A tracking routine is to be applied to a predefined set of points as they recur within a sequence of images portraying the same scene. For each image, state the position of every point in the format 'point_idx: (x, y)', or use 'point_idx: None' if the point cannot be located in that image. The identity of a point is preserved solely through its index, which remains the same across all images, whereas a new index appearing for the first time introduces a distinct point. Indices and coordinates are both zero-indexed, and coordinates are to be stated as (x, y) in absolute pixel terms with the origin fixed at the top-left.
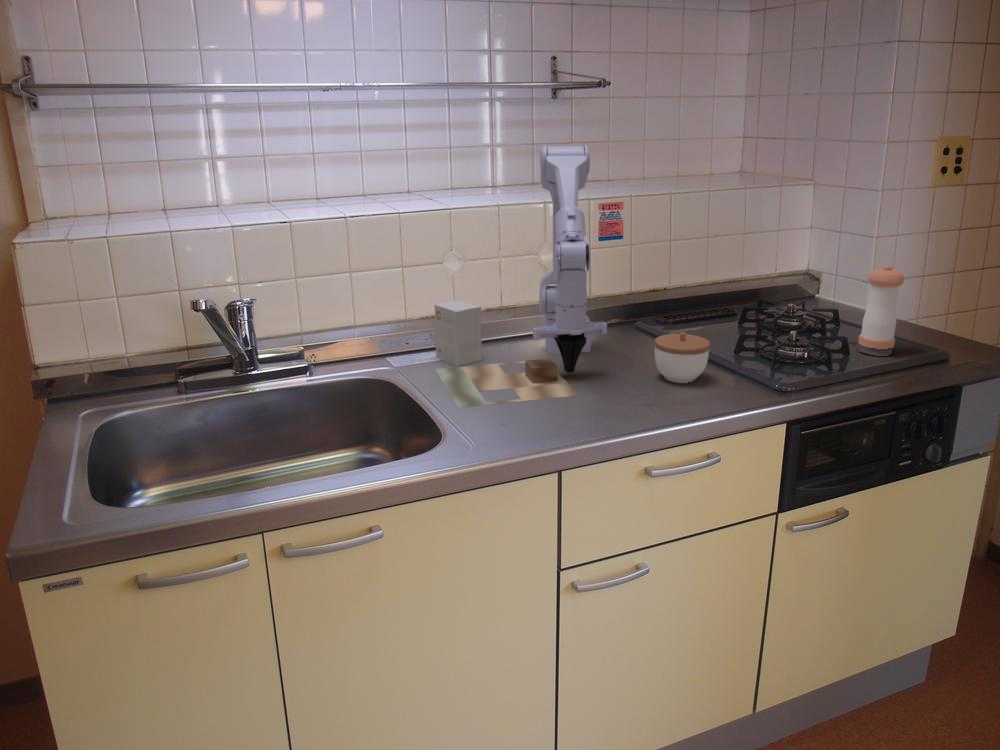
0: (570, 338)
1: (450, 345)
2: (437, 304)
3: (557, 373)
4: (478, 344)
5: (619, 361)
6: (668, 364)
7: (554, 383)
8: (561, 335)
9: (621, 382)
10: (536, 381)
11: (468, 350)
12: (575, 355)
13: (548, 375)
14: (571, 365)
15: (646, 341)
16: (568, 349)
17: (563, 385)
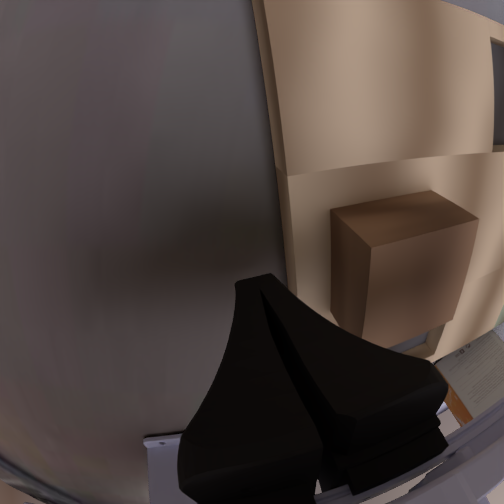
0: (340, 464)
1: None
2: None
3: (349, 227)
4: (472, 398)
5: (64, 420)
6: None
7: (354, 173)
8: (425, 459)
9: (17, 261)
10: (423, 194)
11: (491, 371)
12: (257, 342)
13: (390, 214)
14: (265, 294)
15: (44, 473)
16: (345, 359)
17: (319, 135)
